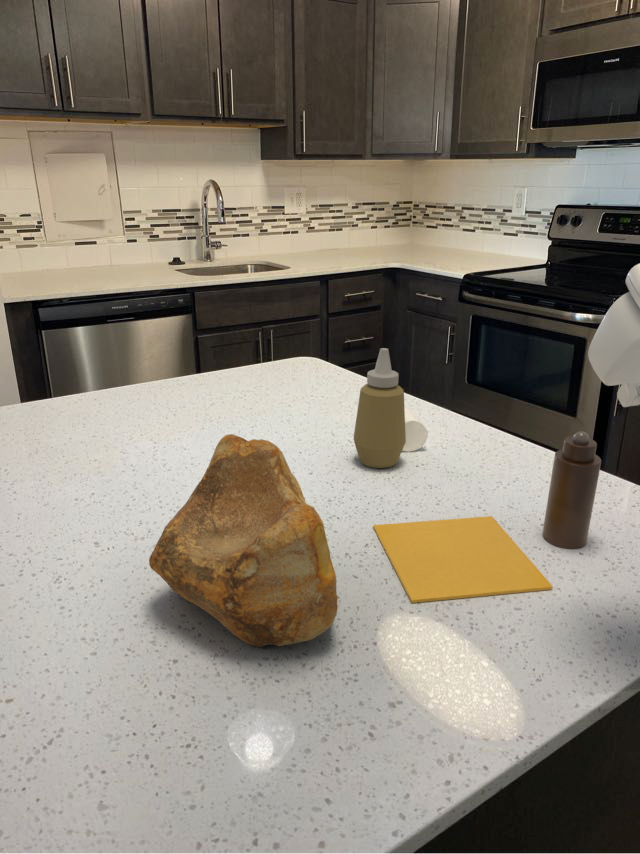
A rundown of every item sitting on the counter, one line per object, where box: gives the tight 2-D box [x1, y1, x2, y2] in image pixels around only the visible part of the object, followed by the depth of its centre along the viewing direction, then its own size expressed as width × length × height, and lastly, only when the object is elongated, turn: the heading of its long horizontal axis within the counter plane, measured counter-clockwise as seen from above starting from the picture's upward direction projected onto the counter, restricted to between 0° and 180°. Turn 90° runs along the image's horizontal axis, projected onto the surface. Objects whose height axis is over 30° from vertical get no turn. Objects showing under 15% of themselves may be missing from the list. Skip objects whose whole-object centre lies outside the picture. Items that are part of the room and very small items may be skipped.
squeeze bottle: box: [353, 347, 406, 469], centre depth 100 cm, size 8×8×18 cm
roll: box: [402, 405, 429, 453], centre depth 112 cm, size 6×12×6 cm, turn 10°
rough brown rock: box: [148, 433, 339, 648], centre depth 67 cm, size 23×17×15 cm
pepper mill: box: [541, 430, 602, 550], centre depth 80 cm, size 5×5×14 cm
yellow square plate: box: [372, 515, 553, 604], centre depth 78 cm, size 16×16×1 cm
